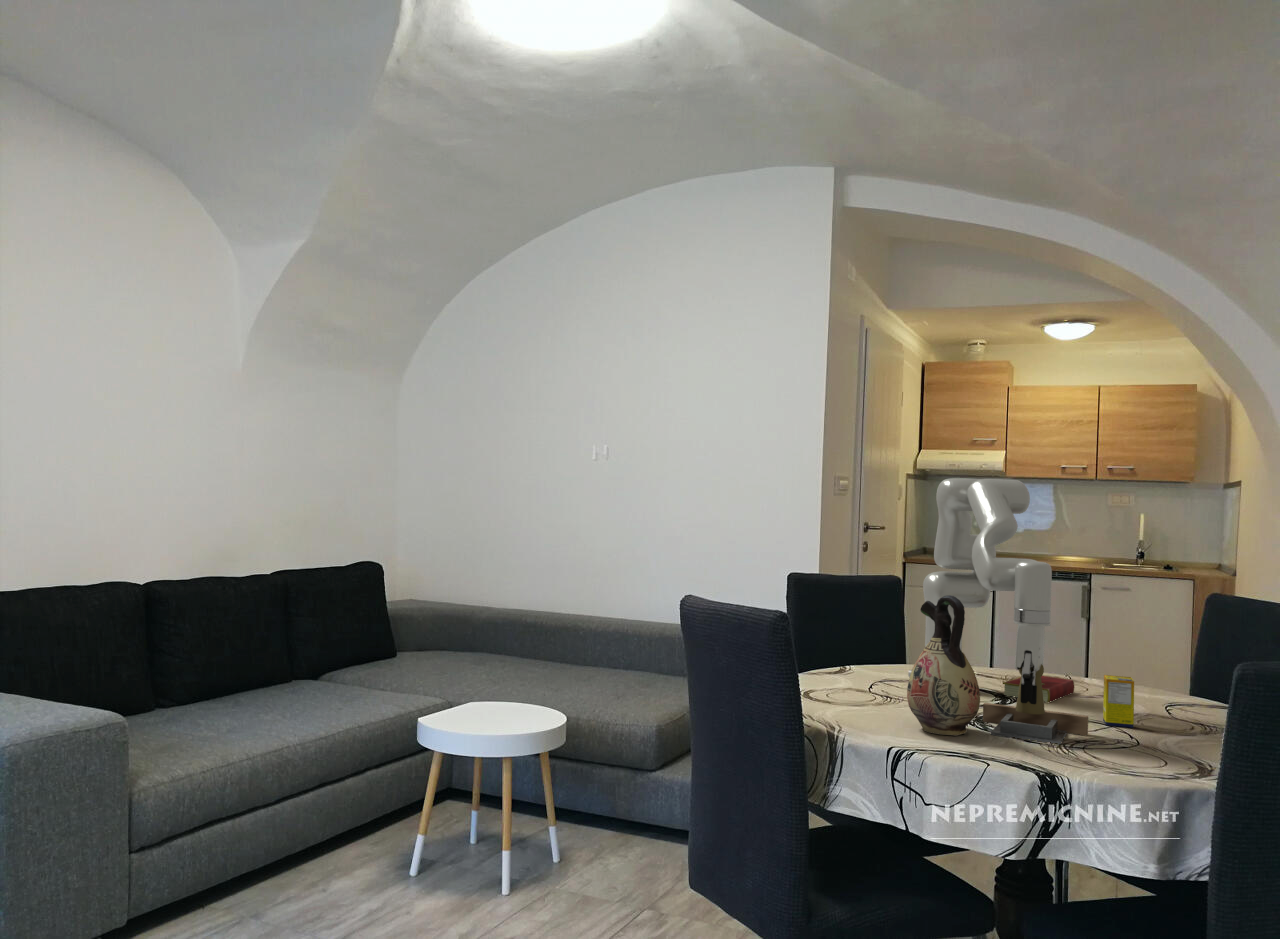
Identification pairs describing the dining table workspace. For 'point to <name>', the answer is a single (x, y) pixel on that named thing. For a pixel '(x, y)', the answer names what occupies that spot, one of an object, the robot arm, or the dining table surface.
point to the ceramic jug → (944, 675)
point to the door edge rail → (1037, 718)
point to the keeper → (1029, 730)
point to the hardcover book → (1043, 687)
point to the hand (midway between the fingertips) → (1030, 700)
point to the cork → (1039, 706)
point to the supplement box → (1118, 701)
